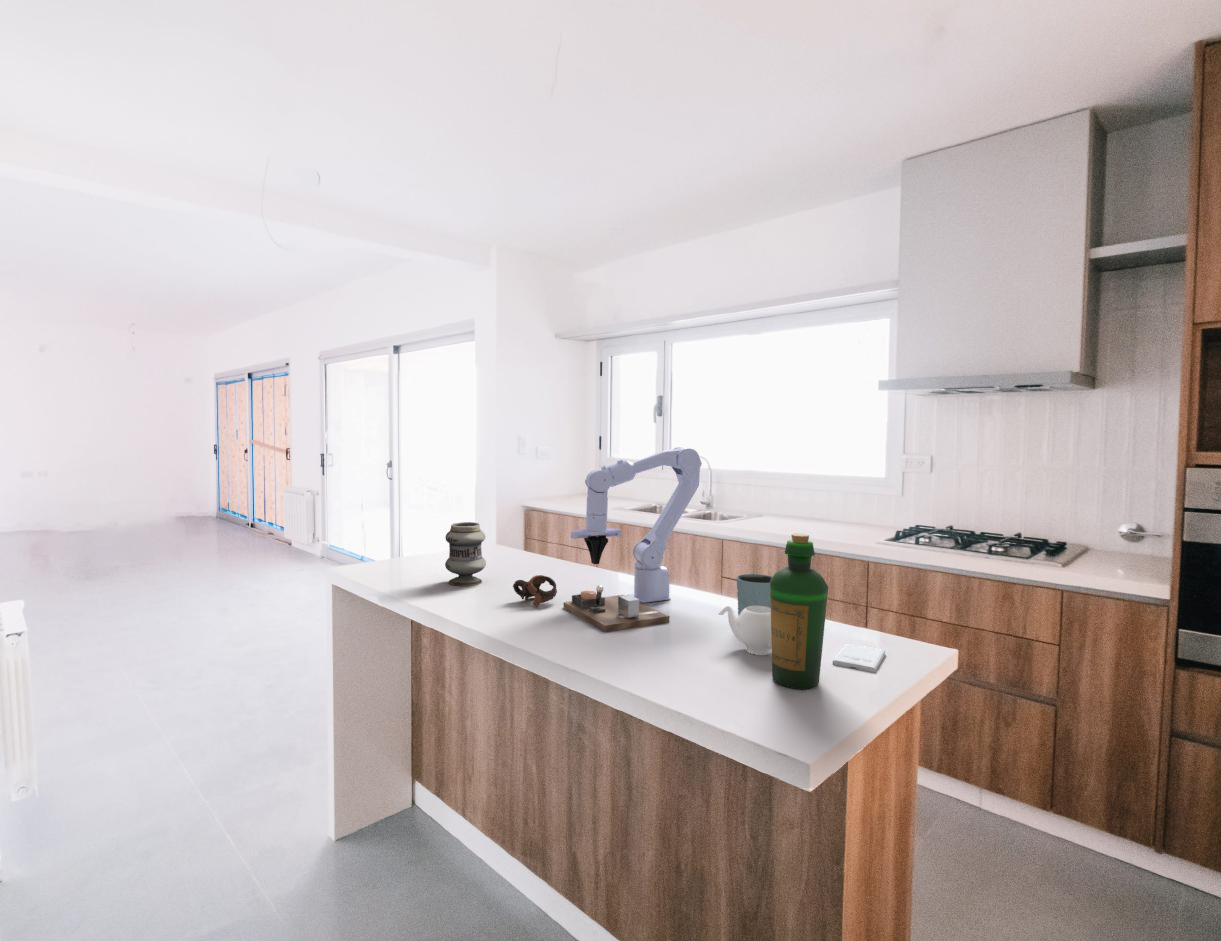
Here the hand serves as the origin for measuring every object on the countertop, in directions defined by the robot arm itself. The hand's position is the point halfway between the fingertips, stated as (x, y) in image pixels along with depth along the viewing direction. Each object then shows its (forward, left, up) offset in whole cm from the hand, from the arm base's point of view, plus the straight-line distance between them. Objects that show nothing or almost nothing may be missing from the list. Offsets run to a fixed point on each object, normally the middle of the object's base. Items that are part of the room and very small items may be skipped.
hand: (595, 563), depth 179 cm
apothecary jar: (+26, -36, -11) cm, 45 cm away
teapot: (-12, +52, -11) cm, 55 cm away
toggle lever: (+7, +14, -7) cm, 17 cm away
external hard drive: (-29, +65, -11) cm, 72 cm away
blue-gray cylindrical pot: (-24, +38, -11) cm, 46 cm away
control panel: (+2, +14, -10) cm, 18 cm away
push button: (+6, +7, -8) cm, 12 cm away
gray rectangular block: (+2, +21, -9) cm, 23 cm away
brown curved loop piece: (+15, -6, -11) cm, 20 cm away
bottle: (-7, +68, -11) cm, 69 cm away
